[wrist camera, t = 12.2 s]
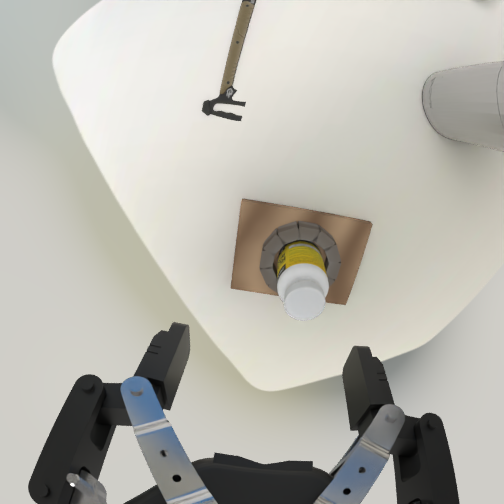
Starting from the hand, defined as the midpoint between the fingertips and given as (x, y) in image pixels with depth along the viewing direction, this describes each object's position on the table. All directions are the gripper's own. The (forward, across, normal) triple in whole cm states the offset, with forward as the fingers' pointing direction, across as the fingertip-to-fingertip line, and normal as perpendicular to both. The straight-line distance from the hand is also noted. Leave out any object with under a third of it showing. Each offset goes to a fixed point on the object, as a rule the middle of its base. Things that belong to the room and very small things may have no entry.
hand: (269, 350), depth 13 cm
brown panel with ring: (+23, -4, +6) cm, 24 cm away
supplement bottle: (+22, -4, +6) cm, 23 cm away
